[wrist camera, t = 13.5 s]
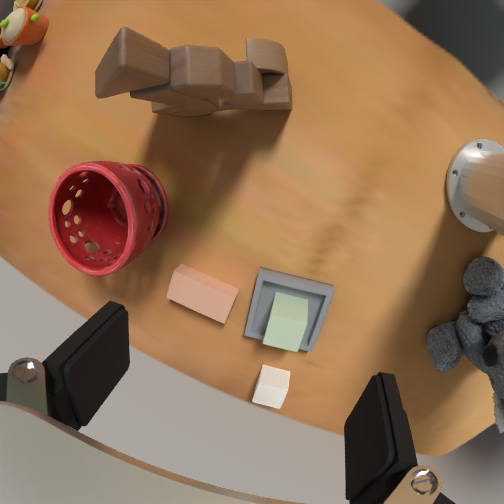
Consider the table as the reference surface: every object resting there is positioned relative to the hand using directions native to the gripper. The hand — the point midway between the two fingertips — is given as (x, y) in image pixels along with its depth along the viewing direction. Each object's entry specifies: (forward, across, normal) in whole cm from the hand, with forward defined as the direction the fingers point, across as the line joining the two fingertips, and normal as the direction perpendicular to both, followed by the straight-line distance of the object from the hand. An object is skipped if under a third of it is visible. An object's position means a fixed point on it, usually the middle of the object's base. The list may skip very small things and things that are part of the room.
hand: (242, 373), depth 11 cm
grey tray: (+30, -3, +14) cm, 34 cm away
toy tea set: (+31, +57, -22) cm, 68 cm away
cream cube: (+30, -4, +28) cm, 41 cm away
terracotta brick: (+31, +9, +14) cm, 35 cm away
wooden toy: (+31, +11, -13) cm, 35 cm away
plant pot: (+31, +21, +4) cm, 37 cm away
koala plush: (+31, -34, +8) cm, 46 cm away
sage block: (+30, -3, +14) cm, 33 cm away
